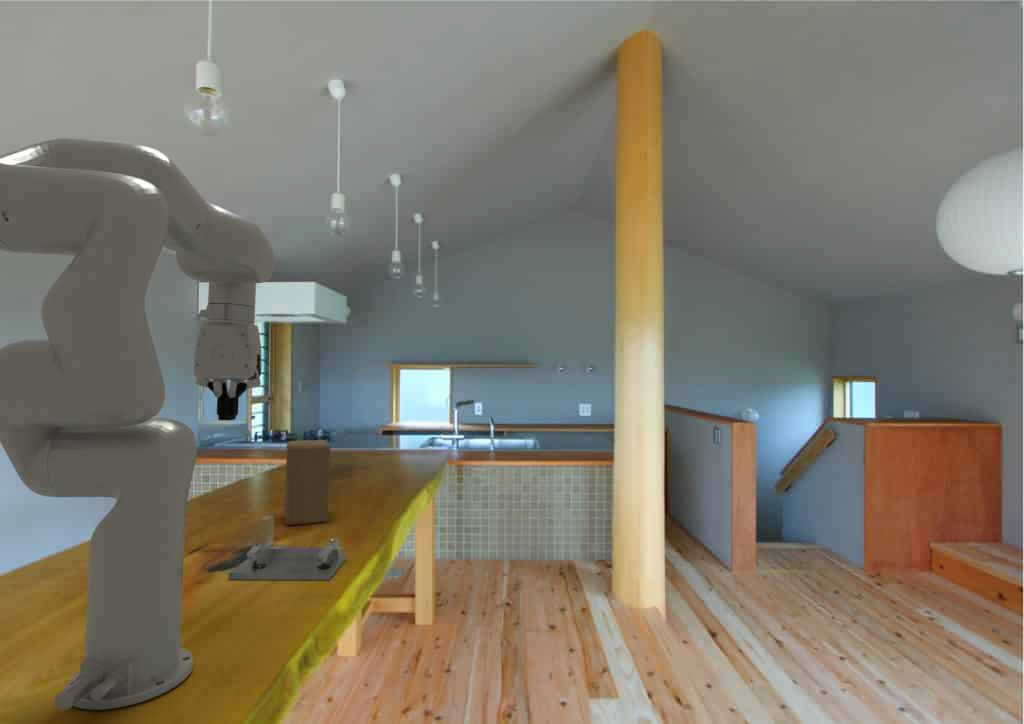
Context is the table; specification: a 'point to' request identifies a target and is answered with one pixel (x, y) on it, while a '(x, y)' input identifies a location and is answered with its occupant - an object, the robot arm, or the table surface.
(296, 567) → the bolt plate
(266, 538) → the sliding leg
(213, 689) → the table surface
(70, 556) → the table surface
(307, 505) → the wooden block
